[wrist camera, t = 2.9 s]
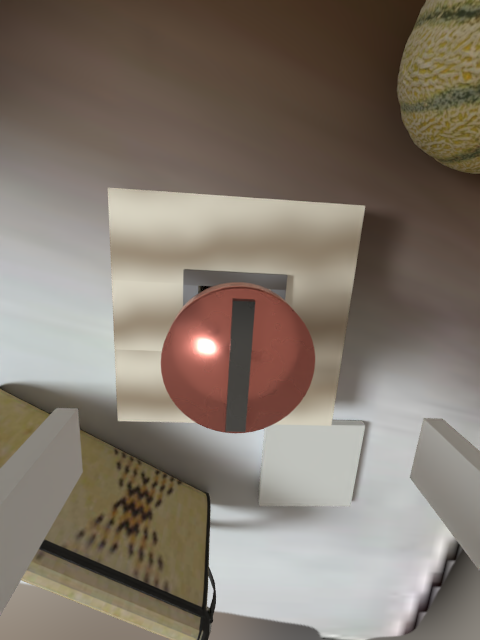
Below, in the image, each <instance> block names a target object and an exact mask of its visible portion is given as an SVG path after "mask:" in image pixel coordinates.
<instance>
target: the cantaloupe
mask: <svg viewBox="0 0 480 640" xmlns="http://www.w3.org/2000/svg"><path fill="white" fill-rule="evenodd" d="M397 94H398V100H399V103H400V105H401V116H402V121H403V123H404V126H405V127H406V129H407V130H408V132H409V135H410V137H411V139H412V140H413V142H414V144H415V145H417V146H418V147H419V148H420V149H421V150H422V151H424V152H425V153H426V154H428V155H430V156H432V157H433V158H434V159H435V160H436V161H437V162H439V163H441V164H442V165H444V166H448V167H449V168H451V169H455V170H457V171H461V172H466V173H472V174H480V0H426V3H425V5H424V6H423V7H422V9H421V11H420V14H419V16H418V19H417V21H416V23H415V26H414V28H413V31H412V33H411V35H410V37H409V38H408V41H407V43H406V46H405V49H404V52H403V56H402V60H401V64H400V72H399V74H398V86H397Z"/></svg>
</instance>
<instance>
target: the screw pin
mask: <svg viewBox="0 0 480 640" xmlns="http://www.w3.org/2000/svg"><path fill="white" fill-rule="evenodd" d="M314 370H315V350H314V345H313V341H312V338H311V335H310V333H309V331H308V329H307V327H306V325H305V323H304V322H303V321H302V319H301V318H300V317H299V315H298V314H297V313H296V312H295V311H294V310H293V309H292V307H291V306H290V305H289V304H288V303H287V302H286V301H285V300H284V299H283V298H281V297H280V296H279V295H277V294H276V293H274V292H272V291H271V290H269V289H267V288H264V287H262V286H259V285H255V284H251V283H243V282H231V283H224V284H220V285H216V286H213V287H210V288H208V289H206V290H204V291H202V292H200V293H199V294H197V295H195V296H194V297H193V298H192V299H190V300H189V301H188V302H187V303H186V304H185V305H184V306H183V307H182V309H181V310H180V311H179V313H178V314H177V316H176V318H175V319H174V321H173V323H172V325H171V327H170V329H169V332H168V334H167V336H166V339H165V341H164V344H163V348H162V353H161V373H162V378H163V382H164V385H165V388H166V390H167V392H168V394H169V396H170V398H171V399H172V401H173V402H174V404H175V405H176V406H177V407H178V408H179V409H180V410H181V411H182V413H184V414H185V415H186V416H187V417H189V418H190V419H191V420H193V421H194V422H196V423H198V424H200V425H202V426H204V427H206V428H209V429H212V430H215V431H220V432H226V433H246V432H253V431H257V430H260V429H264V428H266V427H269V426H271V425H273V424H275V423H277V422H279V421H280V420H282V419H283V418H285V417H286V416H287V415H289V414H290V413H291V412H292V411H293V410H294V409H295V408H296V407H297V406H298V405H299V403H300V402H301V401H302V399H303V398H304V396H305V395H306V393H307V391H308V389H309V387H310V384H311V382H312V379H313V375H314Z"/></svg>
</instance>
